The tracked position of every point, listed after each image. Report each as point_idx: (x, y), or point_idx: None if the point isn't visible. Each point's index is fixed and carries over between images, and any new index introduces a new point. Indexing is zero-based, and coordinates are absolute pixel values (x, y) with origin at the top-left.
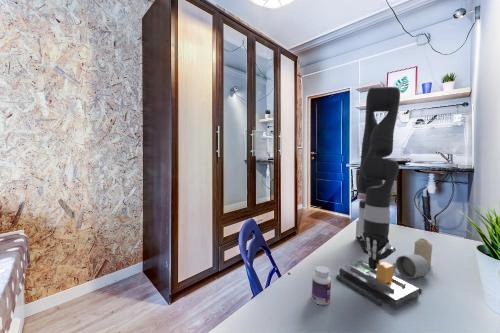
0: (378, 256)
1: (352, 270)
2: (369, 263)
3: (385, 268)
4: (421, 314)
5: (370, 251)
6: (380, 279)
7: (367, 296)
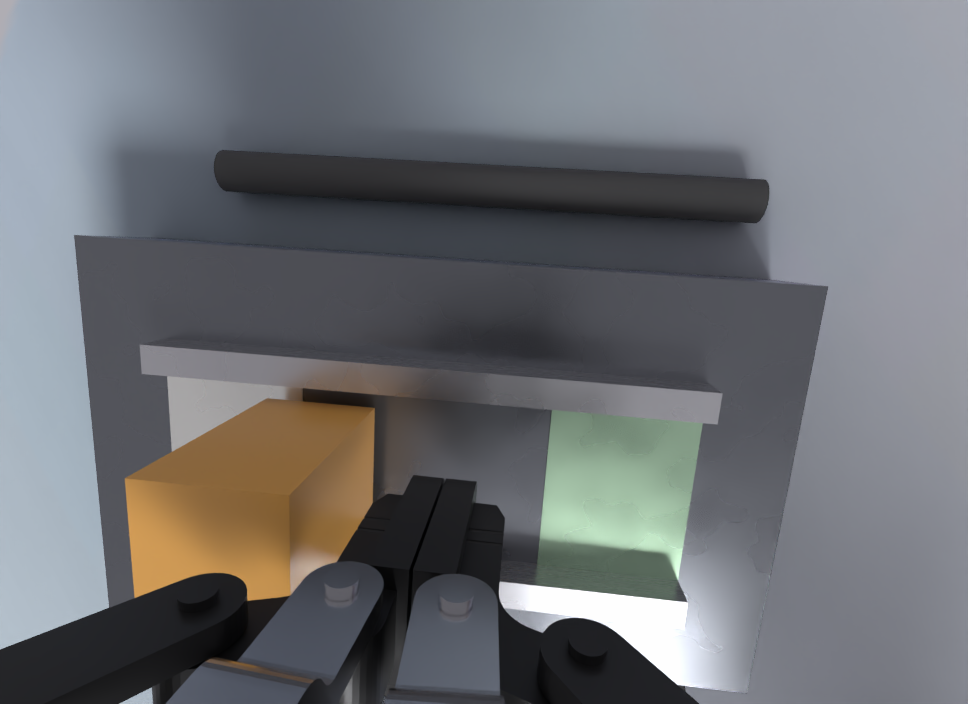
0: (202, 624)
1: (668, 366)
2: (484, 523)
3: (141, 477)
4: (46, 364)
5: (415, 686)
6: (313, 407)
7: (346, 158)
